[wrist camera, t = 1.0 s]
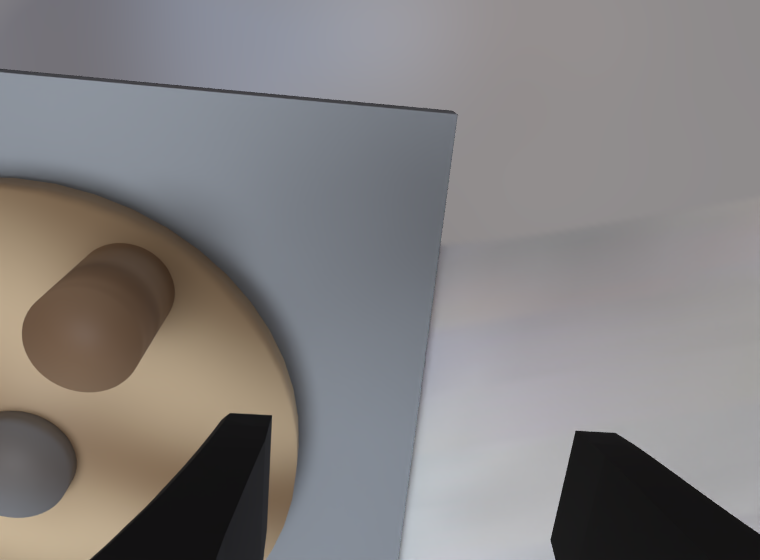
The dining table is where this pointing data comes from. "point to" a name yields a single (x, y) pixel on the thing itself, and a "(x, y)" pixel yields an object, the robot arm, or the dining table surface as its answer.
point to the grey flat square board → (281, 254)
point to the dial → (117, 370)
